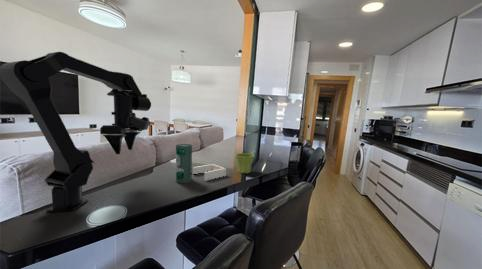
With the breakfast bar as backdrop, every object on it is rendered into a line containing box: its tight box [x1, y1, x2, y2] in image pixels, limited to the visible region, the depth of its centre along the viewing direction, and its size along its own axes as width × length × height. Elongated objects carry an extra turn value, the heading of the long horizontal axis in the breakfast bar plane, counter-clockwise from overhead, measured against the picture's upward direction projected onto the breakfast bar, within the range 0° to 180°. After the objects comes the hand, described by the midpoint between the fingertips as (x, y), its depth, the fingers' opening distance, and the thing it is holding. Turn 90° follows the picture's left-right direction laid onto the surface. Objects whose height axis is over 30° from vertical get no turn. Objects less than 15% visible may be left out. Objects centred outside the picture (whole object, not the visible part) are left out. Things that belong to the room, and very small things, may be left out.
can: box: [175, 143, 193, 184], centre depth 77 cm, size 6×6×15 cm
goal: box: [192, 163, 227, 182], centre depth 85 cm, size 11×11×4 cm
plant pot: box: [234, 152, 255, 174], centre depth 92 cm, size 9×9×9 cm
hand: (124, 151), depth 69 cm, fingers open, 9 cm apart
